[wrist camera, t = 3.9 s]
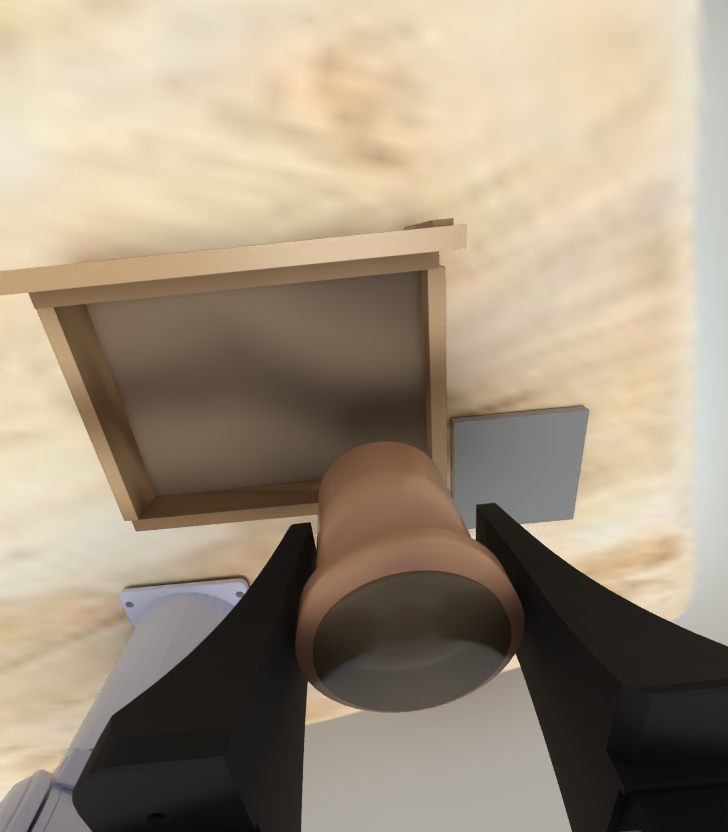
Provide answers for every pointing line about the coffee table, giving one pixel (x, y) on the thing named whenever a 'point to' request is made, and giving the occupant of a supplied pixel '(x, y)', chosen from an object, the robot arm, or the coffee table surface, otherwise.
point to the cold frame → (252, 380)
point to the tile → (519, 463)
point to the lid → (233, 259)
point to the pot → (400, 589)
